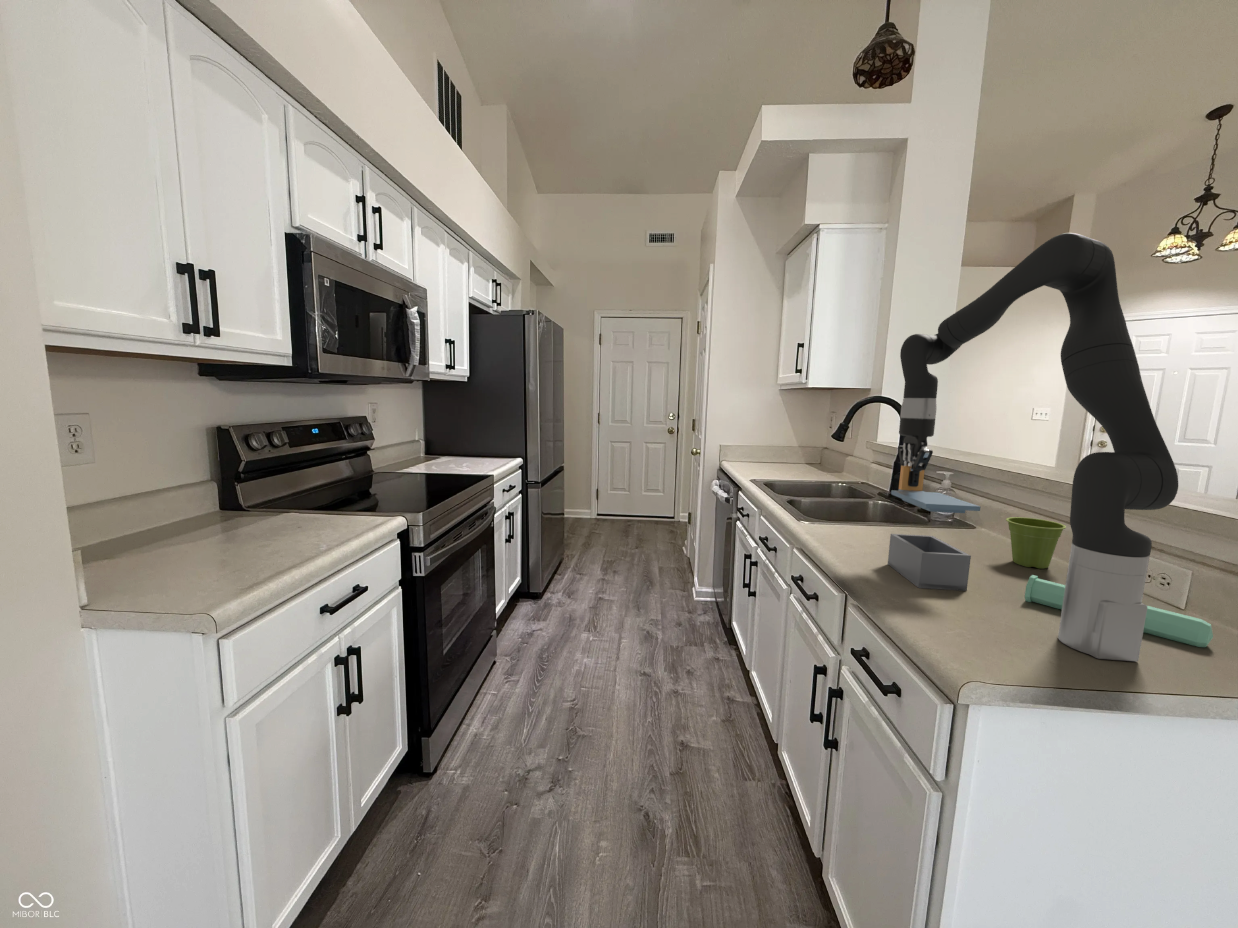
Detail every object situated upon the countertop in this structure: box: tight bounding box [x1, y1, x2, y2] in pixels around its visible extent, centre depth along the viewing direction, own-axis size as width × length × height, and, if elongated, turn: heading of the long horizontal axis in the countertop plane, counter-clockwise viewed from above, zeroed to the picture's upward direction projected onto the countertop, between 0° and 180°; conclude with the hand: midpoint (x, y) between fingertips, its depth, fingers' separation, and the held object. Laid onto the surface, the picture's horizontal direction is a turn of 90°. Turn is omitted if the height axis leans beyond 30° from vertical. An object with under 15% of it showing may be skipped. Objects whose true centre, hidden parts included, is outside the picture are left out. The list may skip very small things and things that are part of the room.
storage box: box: [887, 533, 972, 592], centre depth 116 cm, size 16×10×8 cm, turn 174°
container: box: [1024, 574, 1214, 648], centre depth 94 cm, size 6×6×25 cm
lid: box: [890, 465, 981, 514], centre depth 115 cm, size 20×11×8 cm, turn 174°
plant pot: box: [1005, 516, 1067, 570], centre depth 127 cm, size 12×12×11 cm
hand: (910, 485), depth 124 cm, fingers closed on lid, 1 cm apart
